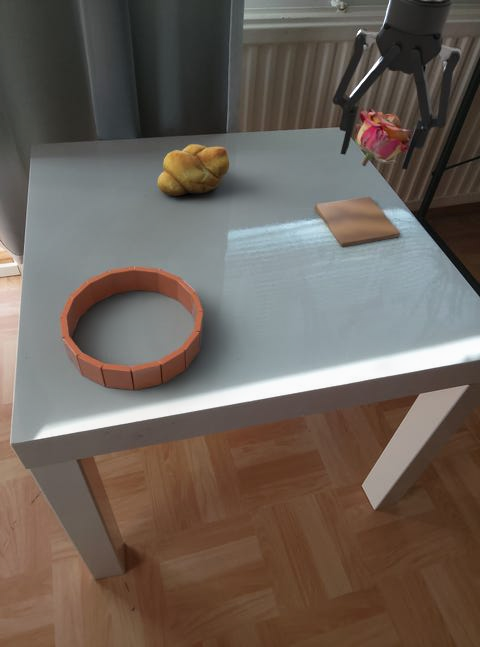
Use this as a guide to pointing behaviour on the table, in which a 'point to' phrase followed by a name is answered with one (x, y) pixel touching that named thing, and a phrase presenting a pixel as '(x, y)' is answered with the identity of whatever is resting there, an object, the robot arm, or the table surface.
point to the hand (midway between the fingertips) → (374, 157)
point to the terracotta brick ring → (125, 282)
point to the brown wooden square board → (356, 221)
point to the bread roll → (193, 170)
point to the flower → (380, 136)
